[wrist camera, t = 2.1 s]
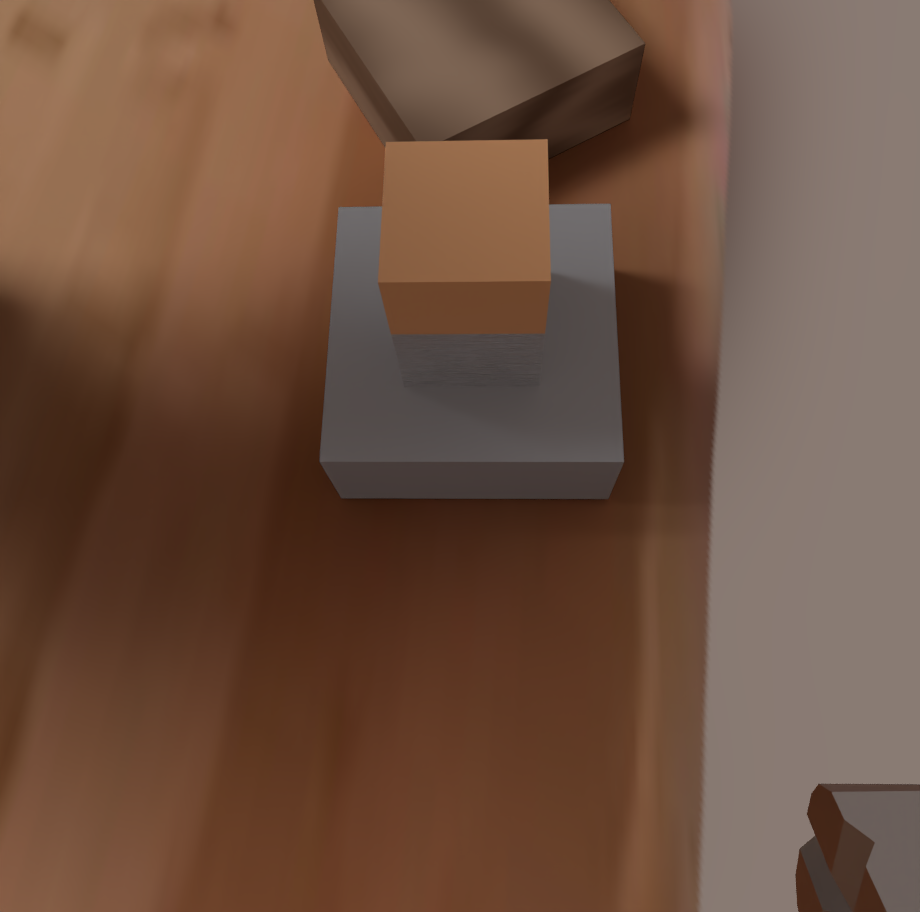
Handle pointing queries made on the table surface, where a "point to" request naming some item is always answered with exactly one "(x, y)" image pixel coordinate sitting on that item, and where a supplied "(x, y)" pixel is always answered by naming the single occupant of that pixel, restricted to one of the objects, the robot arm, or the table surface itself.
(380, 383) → the stand
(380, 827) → the table surface
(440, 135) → the stand
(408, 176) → the cover
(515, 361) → the housing base
